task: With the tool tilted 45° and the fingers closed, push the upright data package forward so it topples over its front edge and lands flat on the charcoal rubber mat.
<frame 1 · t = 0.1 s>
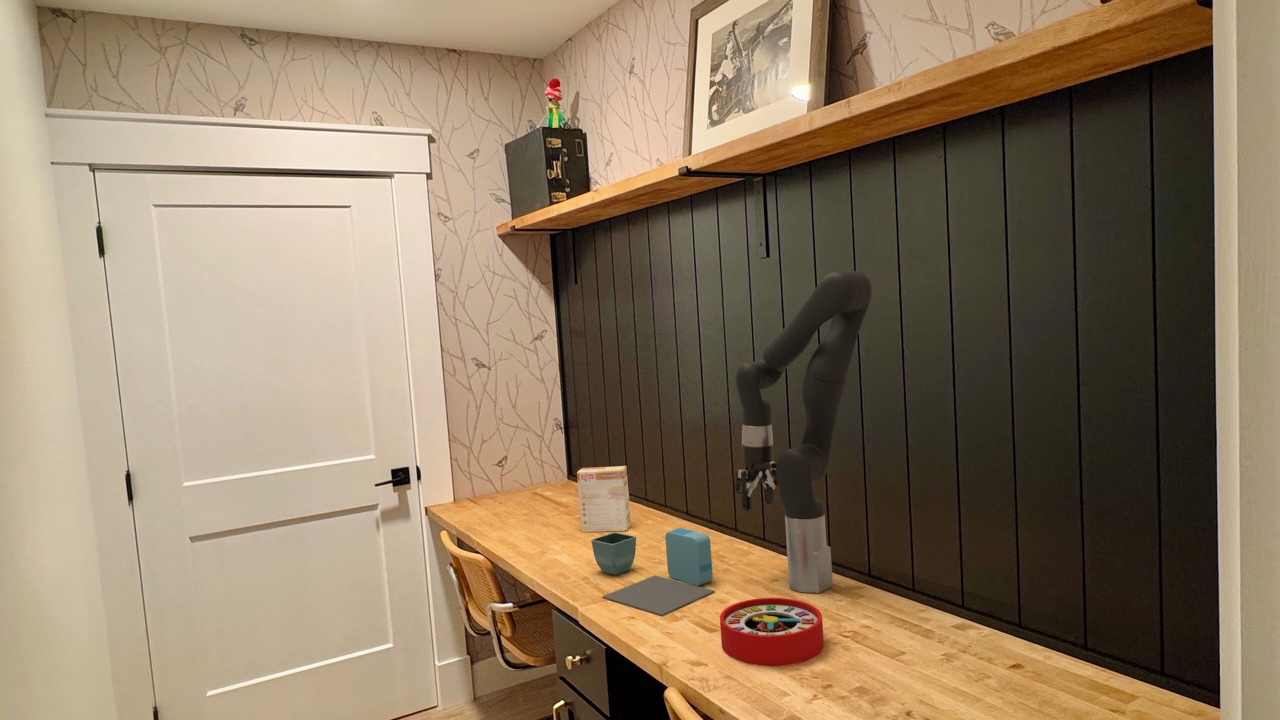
hand: (758, 507, 195), 17 cm above the table, tool pointing down, fingers open, 8 cm apart
data package: (690, 580, 197), on the table
coffeecake box: (606, 529, 251), on the table
toy clock: (772, 645, 156), on the table
mat: (658, 595, 188), on the table
flower pot: (616, 572, 208), on the table
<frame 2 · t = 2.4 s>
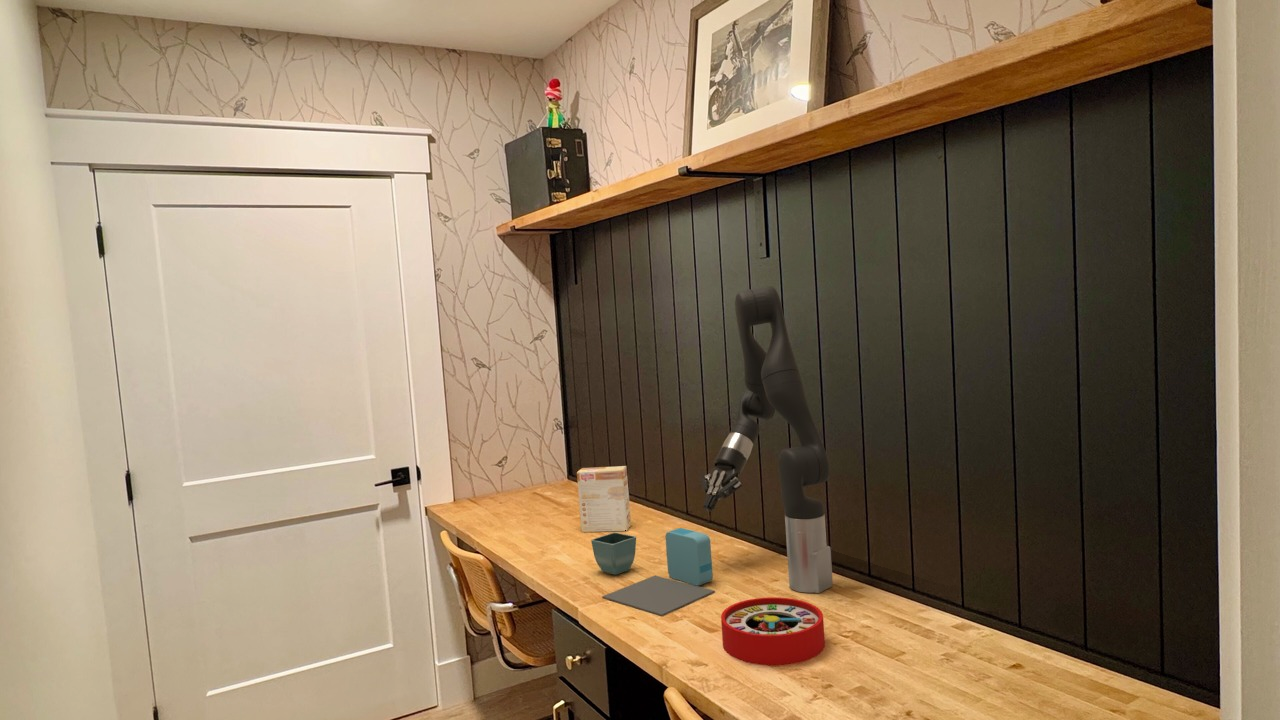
hand: (707, 509, 202), 16 cm above the table, tool tilted 45°, fingers closed
nothing on the table moved.
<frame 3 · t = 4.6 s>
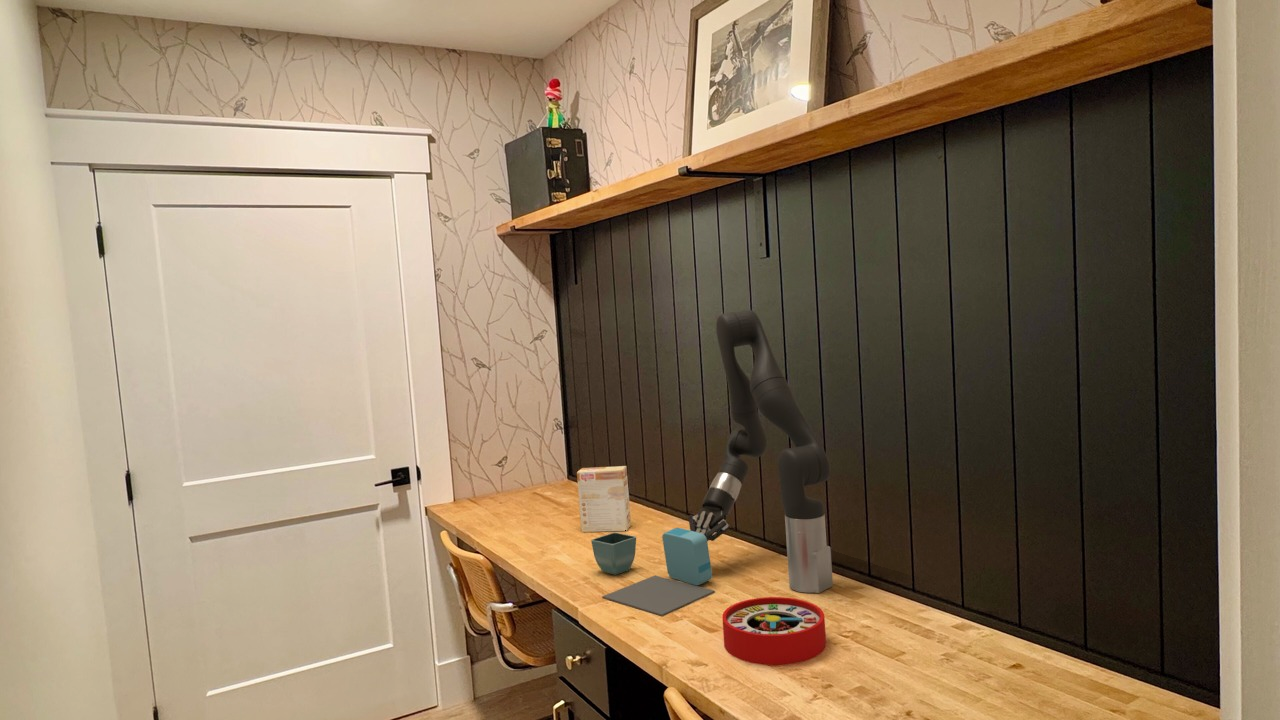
hand: (694, 552, 198), 6 cm above the table, tool tilted 45°, fingers closed
data package: (690, 579, 197), on the table, touching gripper
everything else where it was.
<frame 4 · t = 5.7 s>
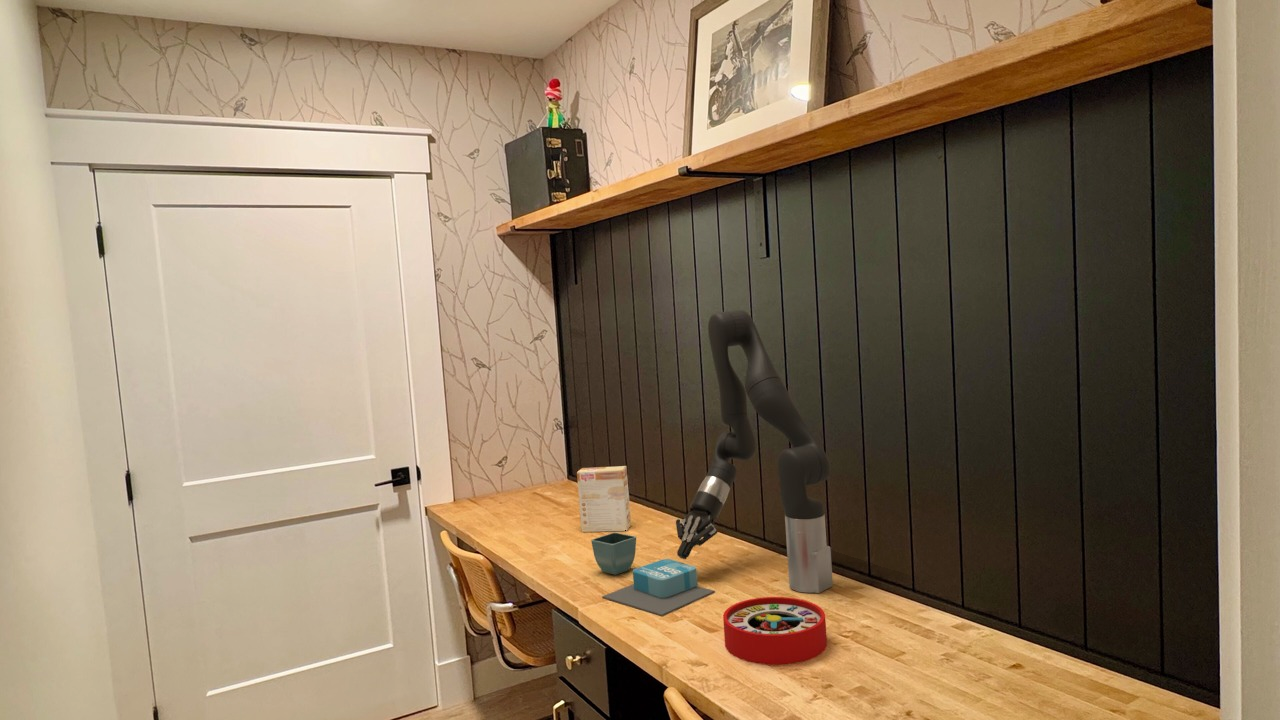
hand: (681, 557, 195), 6 cm above the table, tool tilted 45°, fingers closed
data package: (683, 571, 196), point 3 cm above the table, touching mat
everything else where it was.
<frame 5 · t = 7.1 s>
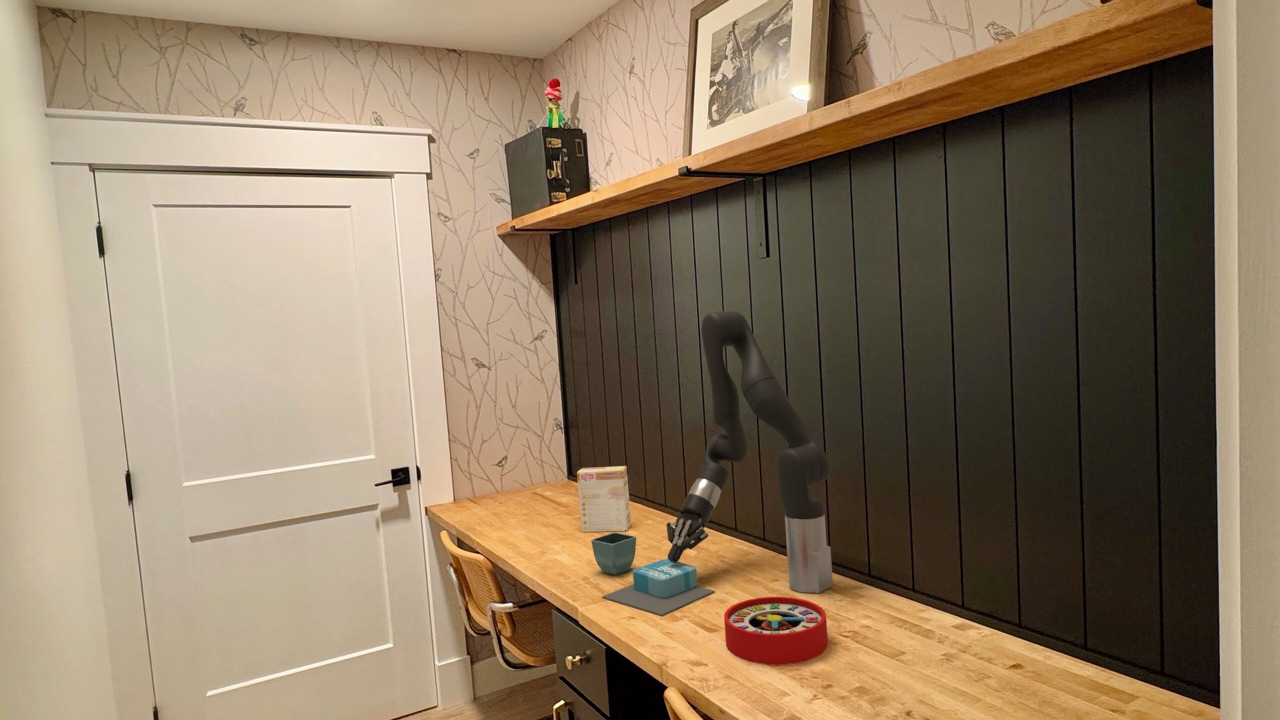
hand: (671, 561, 193), 6 cm above the table, tool tilted 45°, fingers closed
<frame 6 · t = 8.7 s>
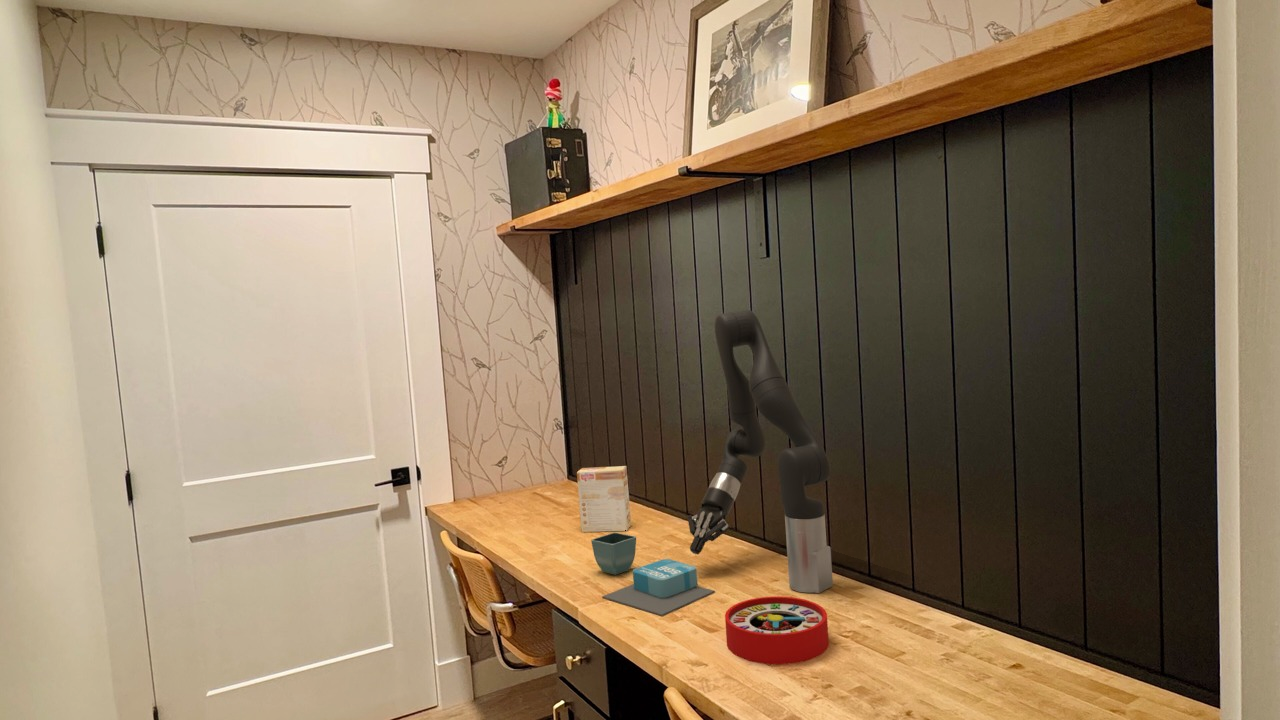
hand: (694, 552, 198), 6 cm above the table, tool tilted 45°, fingers closed
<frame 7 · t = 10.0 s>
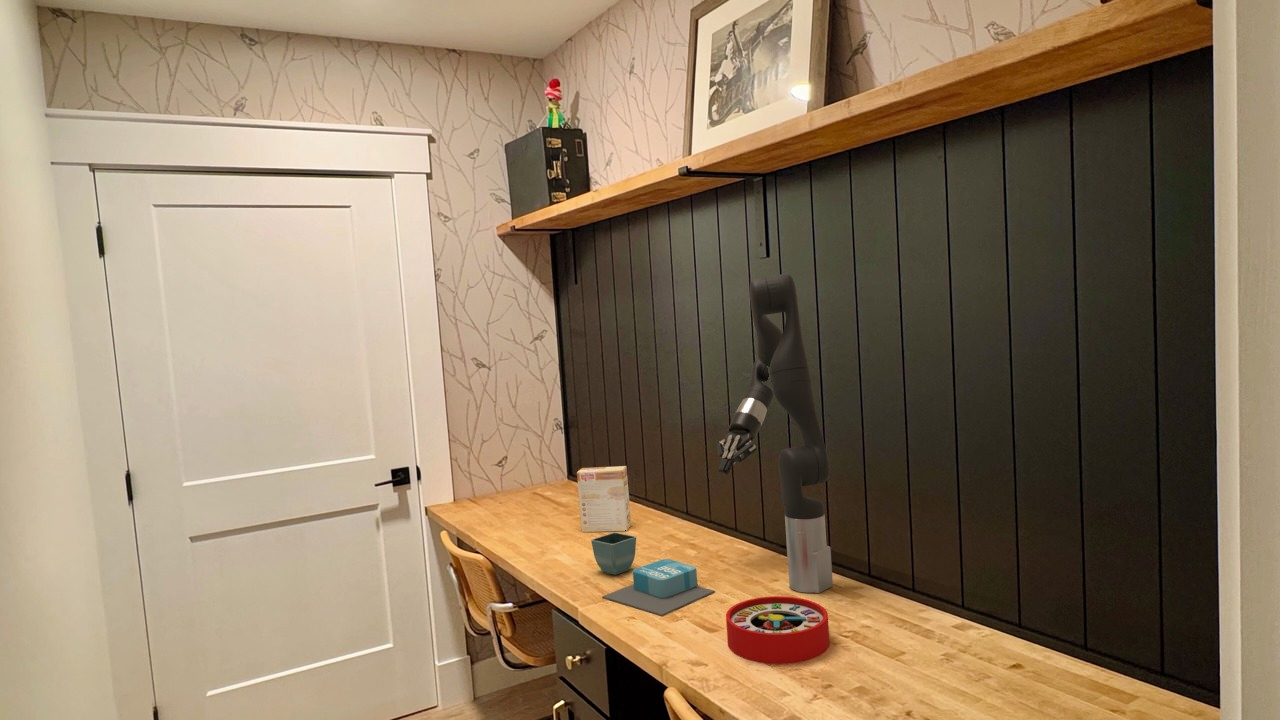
hand: (722, 473, 202), 25 cm above the table, tool tilted 45°, fingers closed
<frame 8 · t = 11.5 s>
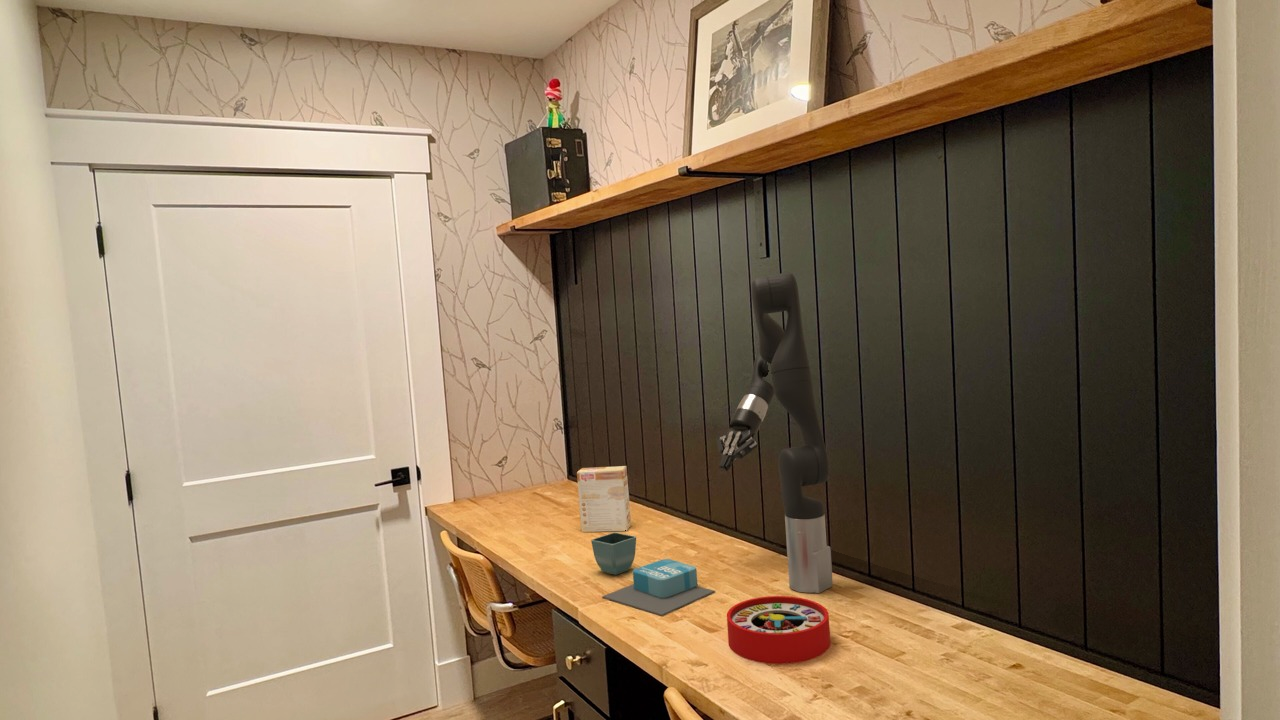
hand: (723, 469, 202), 26 cm above the table, tool tilted 45°, fingers closed
at the end: data package tilted 90°; data package inside the target area on the mat (7.6 cm from its centre), point 2.7 cm above the mat's base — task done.
